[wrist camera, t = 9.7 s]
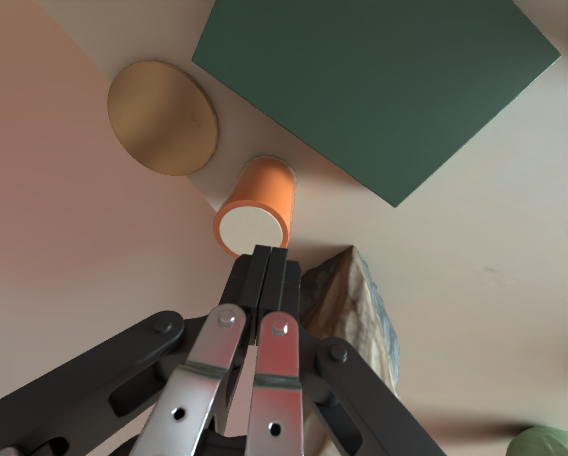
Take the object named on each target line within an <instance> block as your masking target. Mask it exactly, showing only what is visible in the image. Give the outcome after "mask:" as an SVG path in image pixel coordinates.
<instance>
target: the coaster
mask: <svg viewBox="0 0 568 456" xmlns="http://www.w3.org/2000/svg"><path fill="white" fill-rule="evenodd" d="M108 114H109V119H110V122H111V125H112V128H113V130H114V132H115V134H116V136H117V138H118V140H119V141H120V143H121V144H122V146H123V147H124V148H125V149H126V150H127V152H128V153H129V154H130V155H131V156H132V157H133V158H134V159H136V160H137V161H138V162H139V163H141V164H142V165H144V166H145V167H147V168H149V169H151V170H153V171H155V172H158V173H161V174H165V175H171V176H181V175H187V174H190V173H193V172H195V171H197V170H199V169H200V168H201V167H203V166H204V165H205V164H206V163H207V162H208V160H209V159H210V158H211V156H212V155H213V153H214V151H215V149H216V145H217V141H218V121H217V117H216V113H215V110H214V108H213V105H212V103H211V101H210V99H209V97H208V96H207V94H206V93H205V91H204V90H203V89H202V87H201V86H200V85H199V84H198V83H197V82H196V81H195V80H194V79H193V78H192V77H191V76H189V75H188V74H187V73H186V72H184V71H182V70H181V69H179V68H177V67H175V66H173V65H171V64H167V63H164V62H159V61H144V62H137V63H134V64H131V65H129V66H127V67H126V68H124V69H123V70H122V71H120V72H119V73H118V75H117V76H116V77H115V79H114V80H113V82H112V84H111V87H110V90H109V94H108Z"/></svg>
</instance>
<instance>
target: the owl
mask: <svg viewBox="0 0 568 456" xmlns="http://www.w3.org/2000/svg"><path fill="white" fill-rule="evenodd" d="M376 289H377V286H376V285H375V284H374V283H373V282H372V279H371V277H370V275H369V271H368V266H367V264H366V262H365V261H364V260H363V259H362V258H361V257H360V255H359V252H358V251H357V249H356V247H355V246H350V247H349V248H348V249H346V250H345V251H343V252H341V253H340V254H338V255H336V256H335V257H333V258H332V259H329V260H327V261H325V262H324V263H323V264H322V265H320V266H319V267H317V268H315V269H311V270H309V271H308V272H307V273H306V274H305V275H304V276H303V277H301V286H300V298H299V311H298V318H299V322H300V324H301V326H302V327H303V328H304V329H305V330H306V331H307V332H308V333H309V334H311V335H313V336H315V337H317V338H319V339H322V340H323V339H324V338H326V337H330V336H335V337H340V338H343V339H345V340H346V341H348V342H349V343H350V344H351V345H352V346H353V347H354V348H355V350H356V351H357V352H358V353H359V354H360V355H361V356H362V358H363V359H364V360H365V361H366V362H367V363H368V365H369V366H370V367H371V368H372V369H373V370H374V372H375V373H376V374H377V375H378V376H379V377H380V379H381V380H382V381H383V382H384V383H385V384H386V386H387V387H388V388H389V389H390V390H391V391H392V392H393V394H394V395H395V396H396V397H397V398H398V399H399V401H400V402H401V403H402V401H401V398H400V395H399V392H398V390H397V388H396V383H397V382H398V369H399V351H400V350H399V343H398V339H397V336H396V333H395V330H394V328H393V325H392V323H391V321H390V319H389V317H388V315H387V313H386V311H385V309H384V306H383V301H382V299H381V297H380V296H379V295H378V294H377V291H376ZM302 408H303V452H304V454H305V455H306V456H341V455H340V453H339V451H338V450H337V448H336V447H335V445H334V443H333V442H332V440H331V439H330V437H329V435H328V434H327V432H326V431H325V429H324V428H323V426H322V424H321V423H320V421H319V420H318V418H317V416H316V415H315V413H314V412H313V410H312V408H311V407H310V405H309V403H308V402H307V399H306V397H305V396H303V395H302Z"/></svg>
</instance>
